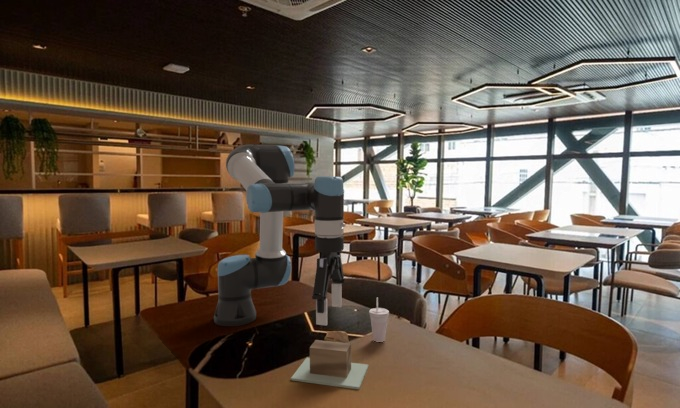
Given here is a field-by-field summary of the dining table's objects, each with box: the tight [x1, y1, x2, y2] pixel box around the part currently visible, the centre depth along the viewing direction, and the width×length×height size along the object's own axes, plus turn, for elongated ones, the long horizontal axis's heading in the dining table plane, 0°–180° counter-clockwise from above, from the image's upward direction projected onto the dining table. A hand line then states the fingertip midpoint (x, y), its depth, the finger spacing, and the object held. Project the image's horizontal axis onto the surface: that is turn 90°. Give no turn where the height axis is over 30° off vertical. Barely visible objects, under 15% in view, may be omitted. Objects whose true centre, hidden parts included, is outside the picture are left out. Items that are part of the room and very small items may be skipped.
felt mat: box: [290, 356, 369, 390], centre depth 103 cm, size 18×12×1 cm, turn 75°
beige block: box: [309, 339, 352, 378], centre depth 103 cm, size 5×10×7 cm, turn 75°
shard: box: [324, 330, 350, 343], centre depth 124 cm, size 11×8×2 cm
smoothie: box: [368, 297, 390, 343], centre depth 124 cm, size 6×6×14 cm
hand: (329, 315), depth 103 cm, fingers open, 13 cm apart
